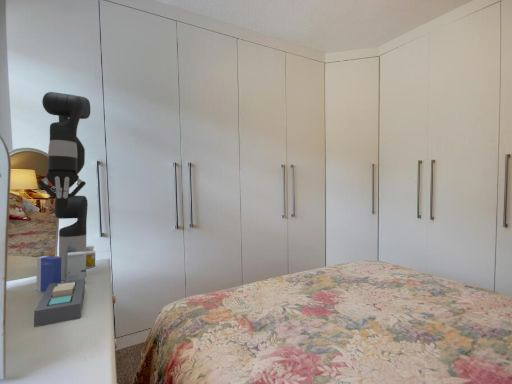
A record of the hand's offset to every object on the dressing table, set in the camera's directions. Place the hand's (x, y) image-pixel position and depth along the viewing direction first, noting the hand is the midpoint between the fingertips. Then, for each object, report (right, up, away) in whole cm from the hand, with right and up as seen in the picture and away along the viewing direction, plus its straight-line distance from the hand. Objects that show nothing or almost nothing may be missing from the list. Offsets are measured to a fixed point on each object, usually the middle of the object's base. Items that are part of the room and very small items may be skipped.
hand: (62, 210), depth 86 cm
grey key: (0, -28, +2) cm, 28 cm away
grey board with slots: (+3, -29, -4) cm, 29 cm away
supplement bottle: (-16, -29, +38) cm, 51 cm away
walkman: (-11, -29, +9) cm, 32 cm away
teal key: (+7, -28, -10) cm, 31 cm away
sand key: (+3, -27, -4) cm, 27 cm away
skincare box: (-5, -29, +14) cm, 33 cm away
